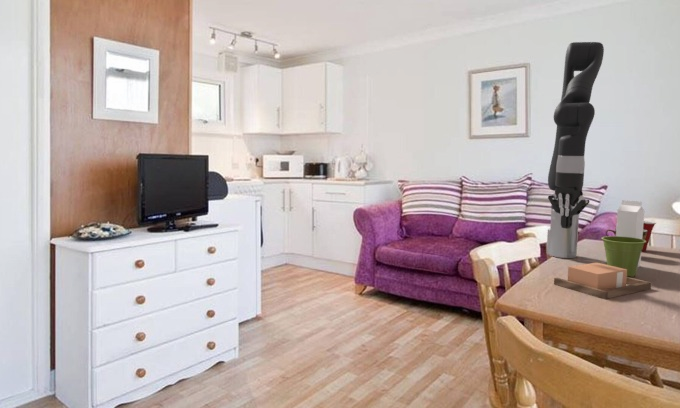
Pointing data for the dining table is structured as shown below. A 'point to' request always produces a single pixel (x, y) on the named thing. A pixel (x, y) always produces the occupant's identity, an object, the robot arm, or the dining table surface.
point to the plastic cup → (649, 228)
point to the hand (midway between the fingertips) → (566, 228)
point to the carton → (598, 276)
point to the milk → (630, 220)
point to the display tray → (633, 286)
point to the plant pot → (623, 252)
